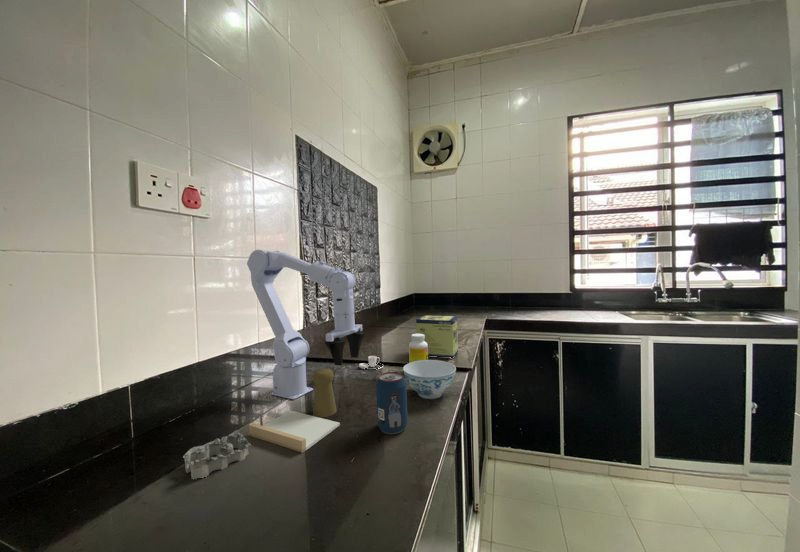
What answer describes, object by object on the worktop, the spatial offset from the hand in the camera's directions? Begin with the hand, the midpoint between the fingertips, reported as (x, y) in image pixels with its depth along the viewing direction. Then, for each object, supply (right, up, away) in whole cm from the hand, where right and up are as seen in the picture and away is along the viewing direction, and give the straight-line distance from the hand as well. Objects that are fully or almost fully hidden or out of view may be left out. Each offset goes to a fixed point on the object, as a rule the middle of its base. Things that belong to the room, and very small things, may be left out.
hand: (346, 360), depth 89 cm
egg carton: (-20, -12, -28) cm, 37 cm away
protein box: (+31, -9, +41) cm, 52 cm away
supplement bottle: (+22, -9, +21) cm, 32 cm away
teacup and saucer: (+3, -10, +29) cm, 31 cm away
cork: (-4, -11, -9) cm, 15 cm away
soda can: (+14, -11, -18) cm, 25 cm away
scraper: (-9, -11, -17) cm, 23 cm away
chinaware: (+24, -10, 0) cm, 26 cm away
